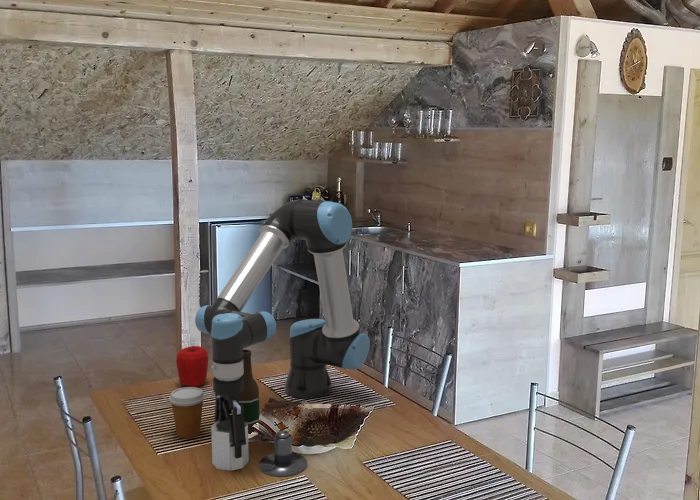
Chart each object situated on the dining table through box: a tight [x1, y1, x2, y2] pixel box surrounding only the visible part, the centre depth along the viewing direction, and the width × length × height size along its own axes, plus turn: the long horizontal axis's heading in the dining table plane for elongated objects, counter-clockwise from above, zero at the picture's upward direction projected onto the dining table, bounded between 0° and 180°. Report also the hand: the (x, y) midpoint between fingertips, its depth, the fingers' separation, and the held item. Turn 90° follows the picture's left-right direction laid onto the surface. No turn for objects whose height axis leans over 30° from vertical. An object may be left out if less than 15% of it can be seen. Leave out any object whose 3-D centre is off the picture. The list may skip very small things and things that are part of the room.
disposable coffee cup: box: [168, 386, 206, 439], centre depth 195 cm, size 10×10×12 cm
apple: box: [175, 345, 209, 388], centre depth 232 cm, size 11×10×14 cm
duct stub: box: [258, 430, 308, 478], centre depth 177 cm, size 12×12×9 cm
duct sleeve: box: [210, 420, 250, 472], centre depth 179 cm, size 8×8×10 cm
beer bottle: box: [237, 349, 261, 434], centre depth 194 cm, size 8×8×24 cm
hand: (230, 461), depth 179 cm, fingers closed on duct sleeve, 8 cm apart
